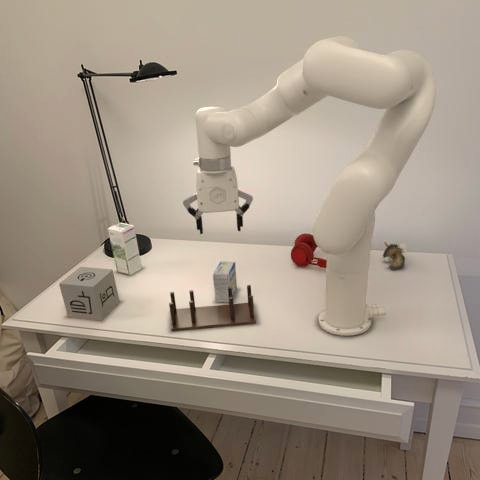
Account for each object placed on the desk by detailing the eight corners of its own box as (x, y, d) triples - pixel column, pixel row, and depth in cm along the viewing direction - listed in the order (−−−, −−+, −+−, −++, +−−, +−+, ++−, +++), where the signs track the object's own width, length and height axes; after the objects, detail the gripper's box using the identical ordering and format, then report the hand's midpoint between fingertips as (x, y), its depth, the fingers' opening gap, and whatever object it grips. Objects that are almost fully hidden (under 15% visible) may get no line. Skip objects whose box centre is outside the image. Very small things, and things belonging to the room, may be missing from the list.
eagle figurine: (376, 252, 156) (376, 260, 148) (391, 233, 153) (392, 240, 145) (396, 267, 156) (398, 275, 148) (412, 248, 153) (414, 255, 145)
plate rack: (252, 304, 136) (250, 282, 133) (255, 323, 128) (254, 299, 124) (172, 311, 136) (169, 289, 132) (171, 331, 127) (167, 307, 124)
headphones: (287, 268, 152) (355, 280, 149) (290, 246, 148) (360, 259, 145) (294, 248, 164) (357, 259, 161) (297, 227, 160) (362, 238, 157)
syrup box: (142, 268, 160) (134, 224, 152) (129, 276, 156) (121, 231, 148) (129, 265, 163) (120, 221, 155) (116, 272, 158) (106, 228, 151)
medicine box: (231, 303, 138) (229, 274, 133) (215, 302, 138) (212, 273, 134) (237, 289, 144) (235, 261, 140) (222, 288, 145) (219, 260, 140)
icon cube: (101, 320, 134) (93, 286, 129) (68, 316, 137) (58, 283, 131) (119, 302, 142) (112, 269, 137) (88, 298, 145) (80, 266, 140)
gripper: (178, 170, 119) (186, 239, 128) (252, 165, 120) (255, 233, 129) (179, 161, 125) (186, 227, 134) (250, 156, 126) (252, 223, 135)
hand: (220, 230), depth 132 cm, fingers open, 9 cm apart
